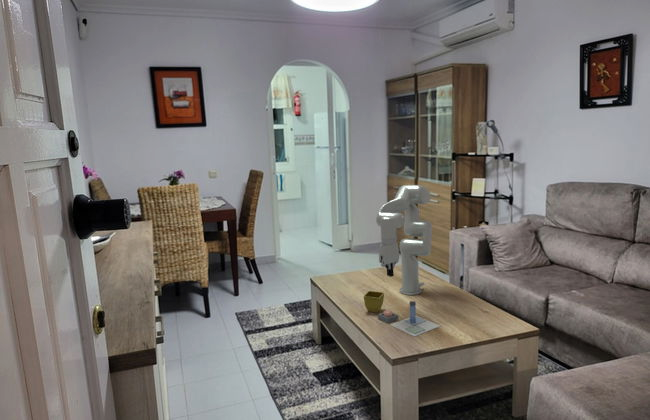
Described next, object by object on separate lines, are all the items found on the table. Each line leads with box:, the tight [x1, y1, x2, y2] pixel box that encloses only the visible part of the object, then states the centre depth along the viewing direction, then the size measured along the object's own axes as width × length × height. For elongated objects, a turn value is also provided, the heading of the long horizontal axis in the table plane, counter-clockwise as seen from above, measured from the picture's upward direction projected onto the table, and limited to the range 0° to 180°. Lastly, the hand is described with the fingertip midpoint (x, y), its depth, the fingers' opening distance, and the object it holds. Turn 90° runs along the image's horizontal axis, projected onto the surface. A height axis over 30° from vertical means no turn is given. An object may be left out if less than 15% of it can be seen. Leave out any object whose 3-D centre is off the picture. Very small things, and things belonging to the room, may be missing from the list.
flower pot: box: [363, 290, 385, 313], centre depth 230 cm, size 9×9×9 cm
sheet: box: [389, 315, 441, 338], centre depth 209 cm, size 17×16×1 cm
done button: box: [383, 309, 394, 317], centre depth 218 cm, size 4×4×3 cm
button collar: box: [377, 312, 399, 324], centre depth 218 cm, size 7×7×2 cm
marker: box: [409, 300, 417, 323], centre depth 212 cm, size 3×3×10 cm
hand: (390, 275), depth 221 cm, fingers closed
